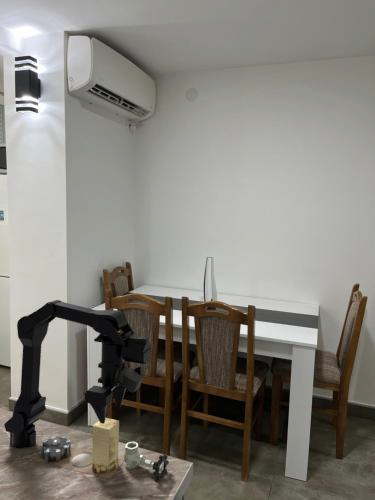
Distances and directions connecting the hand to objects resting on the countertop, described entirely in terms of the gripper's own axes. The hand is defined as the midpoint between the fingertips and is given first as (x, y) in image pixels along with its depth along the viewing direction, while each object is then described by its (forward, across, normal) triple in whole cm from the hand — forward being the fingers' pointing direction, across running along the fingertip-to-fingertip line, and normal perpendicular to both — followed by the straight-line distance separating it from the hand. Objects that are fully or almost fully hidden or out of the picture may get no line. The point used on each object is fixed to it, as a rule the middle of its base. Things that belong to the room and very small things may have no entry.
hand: (110, 414), depth 105 cm
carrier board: (+15, -2, +9) cm, 17 cm away
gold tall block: (+14, -2, +1) cm, 14 cm away
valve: (+15, +1, -10) cm, 18 cm away
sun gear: (+14, -2, +16) cm, 21 cm away
